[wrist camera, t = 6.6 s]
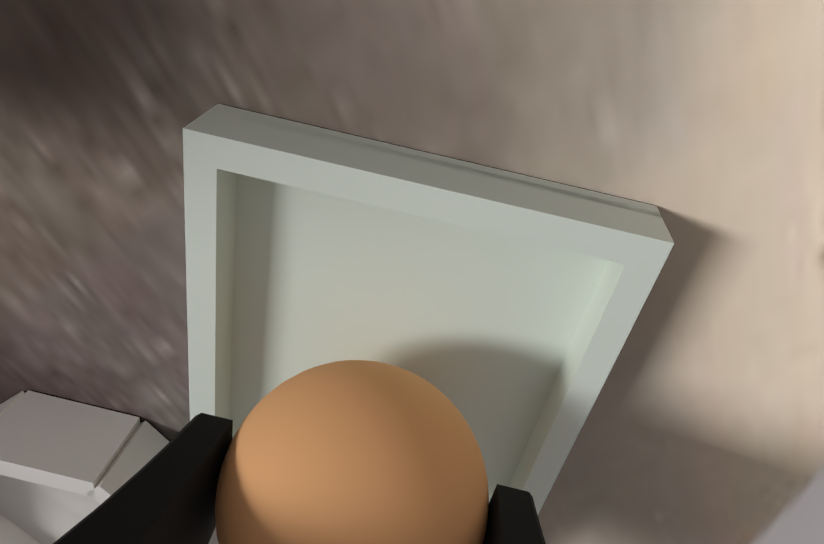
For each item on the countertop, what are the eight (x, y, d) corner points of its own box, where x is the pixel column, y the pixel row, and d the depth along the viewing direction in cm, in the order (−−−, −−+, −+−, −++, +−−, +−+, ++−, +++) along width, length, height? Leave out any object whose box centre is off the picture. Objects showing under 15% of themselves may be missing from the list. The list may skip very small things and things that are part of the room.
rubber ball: (460, 495, 15) (441, 735, 10) (262, 446, 15) (165, 666, 10) (521, 342, 12) (530, 584, 8) (278, 282, 12) (156, 491, 8)
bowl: (223, 594, 21) (195, 662, 19) (-2, 539, 21) (-52, 601, 19) (227, 438, 16) (191, 506, 15) (-59, 369, 17) (-131, 428, 15)
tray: (500, 542, 17) (499, 591, 16) (214, 472, 17) (192, 516, 16) (656, 206, 11) (674, 243, 10) (218, 103, 11) (182, 128, 10)
